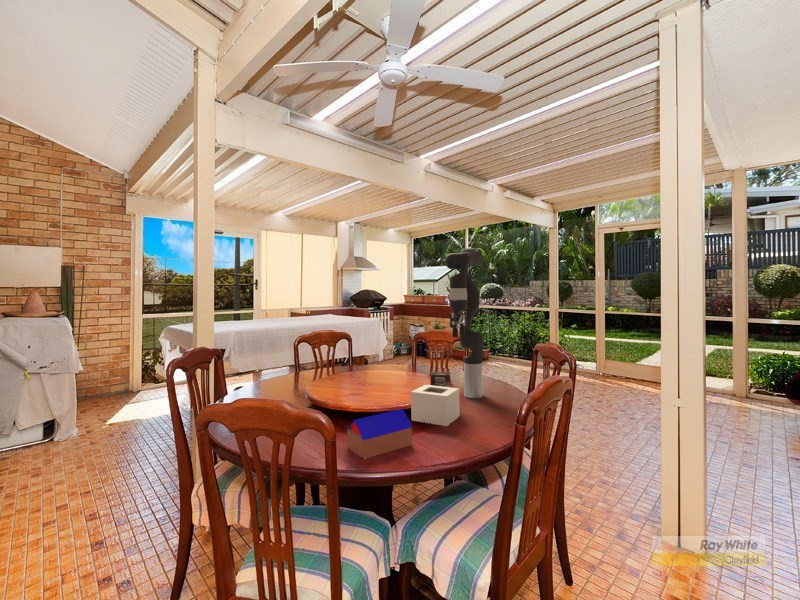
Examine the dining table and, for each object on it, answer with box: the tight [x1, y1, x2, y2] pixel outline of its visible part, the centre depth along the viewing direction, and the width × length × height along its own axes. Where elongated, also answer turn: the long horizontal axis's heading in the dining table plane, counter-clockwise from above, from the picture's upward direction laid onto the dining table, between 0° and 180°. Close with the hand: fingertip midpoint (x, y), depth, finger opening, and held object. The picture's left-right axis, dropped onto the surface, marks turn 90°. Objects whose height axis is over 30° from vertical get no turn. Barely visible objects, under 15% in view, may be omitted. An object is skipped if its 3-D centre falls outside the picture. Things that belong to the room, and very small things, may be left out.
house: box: [345, 408, 413, 459], centre depth 136 cm, size 12×20×12 cm, turn 126°
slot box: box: [410, 384, 461, 427], centre depth 165 cm, size 14×16×12 cm
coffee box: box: [429, 371, 451, 387], centre depth 179 cm, size 9×6×16 cm
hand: (458, 336), depth 170 cm, fingers open, 8 cm apart
